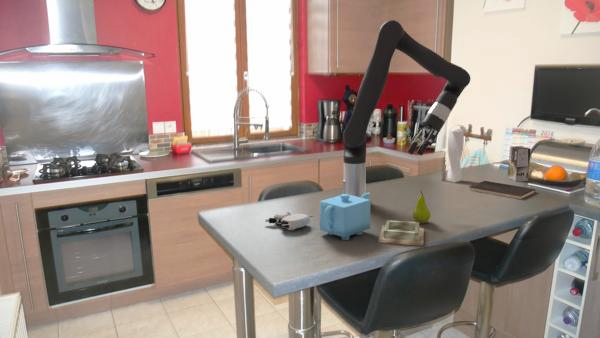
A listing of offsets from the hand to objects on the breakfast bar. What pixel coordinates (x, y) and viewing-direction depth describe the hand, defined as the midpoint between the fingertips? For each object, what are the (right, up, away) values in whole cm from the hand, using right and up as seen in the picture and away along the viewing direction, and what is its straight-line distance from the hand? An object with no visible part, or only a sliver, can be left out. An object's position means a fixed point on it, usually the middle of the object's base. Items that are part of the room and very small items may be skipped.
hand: (414, 153), depth 170 cm
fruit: (+1, -25, -7) cm, 26 cm away
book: (+48, -16, +33) cm, 61 cm away
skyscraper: (+33, -12, +55) cm, 65 cm away
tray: (-9, -28, -20) cm, 36 cm away
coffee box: (+66, -11, +54) cm, 86 cm away
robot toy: (-47, -27, -7) cm, 55 cm away
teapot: (-26, -28, -15) cm, 41 cm away
